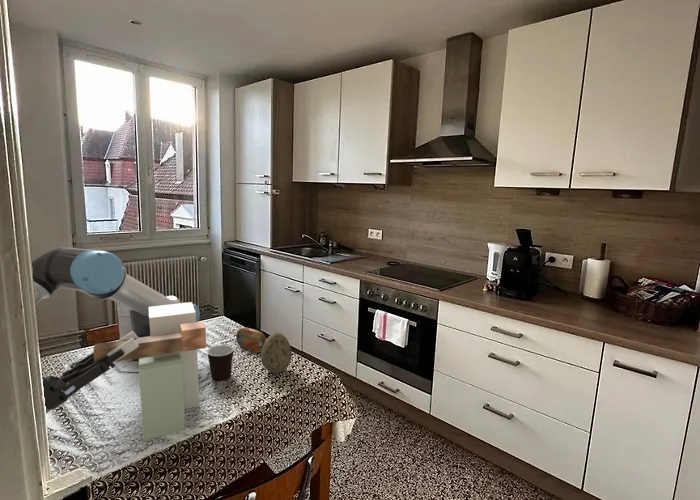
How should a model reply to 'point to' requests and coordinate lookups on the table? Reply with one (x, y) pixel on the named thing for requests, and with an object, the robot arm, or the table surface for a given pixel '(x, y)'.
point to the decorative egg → (276, 353)
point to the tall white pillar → (169, 322)
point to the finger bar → (159, 343)
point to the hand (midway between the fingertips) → (135, 338)
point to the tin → (250, 339)
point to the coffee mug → (220, 362)
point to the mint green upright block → (161, 395)
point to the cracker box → (124, 320)
